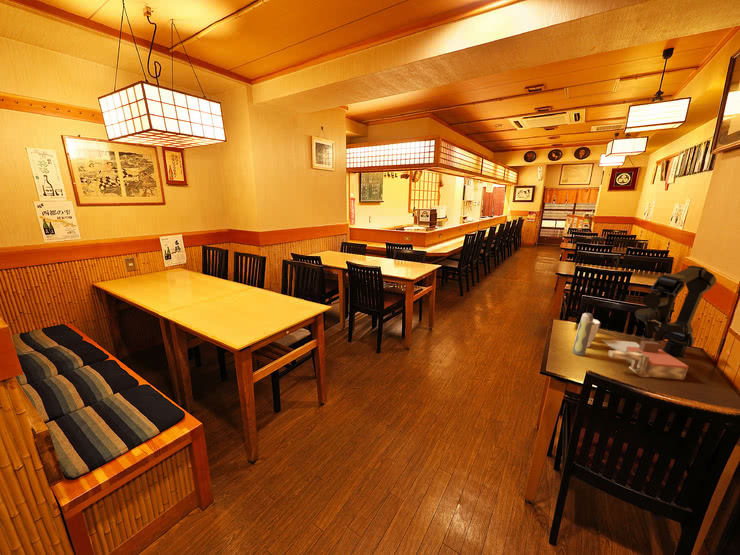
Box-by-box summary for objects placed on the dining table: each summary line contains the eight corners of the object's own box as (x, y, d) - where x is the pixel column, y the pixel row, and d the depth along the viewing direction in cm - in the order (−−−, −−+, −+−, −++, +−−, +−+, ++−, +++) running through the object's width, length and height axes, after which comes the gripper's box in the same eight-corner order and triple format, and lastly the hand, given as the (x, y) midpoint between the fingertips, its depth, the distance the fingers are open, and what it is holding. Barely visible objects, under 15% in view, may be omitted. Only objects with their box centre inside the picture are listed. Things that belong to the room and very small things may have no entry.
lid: (659, 351, 136) (663, 341, 135) (687, 368, 123) (691, 357, 121) (626, 348, 137) (629, 338, 136) (650, 365, 124) (654, 354, 123)
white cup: (598, 342, 154) (603, 324, 151) (583, 341, 154) (587, 323, 151) (588, 335, 161) (592, 317, 158) (573, 334, 161) (577, 316, 159)
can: (587, 342, 152) (593, 320, 149) (592, 348, 146) (598, 326, 143) (572, 340, 154) (578, 318, 151) (576, 346, 148) (582, 323, 145)
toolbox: (656, 361, 137) (662, 343, 135) (685, 380, 123) (692, 361, 121) (616, 357, 139) (621, 340, 137) (639, 376, 125) (646, 357, 123)
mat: (634, 342, 154) (635, 342, 154) (660, 359, 139) (660, 358, 139) (601, 340, 156) (601, 339, 156) (622, 356, 141) (623, 355, 140)
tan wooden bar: (640, 357, 127) (642, 352, 127) (645, 360, 125) (646, 355, 124) (607, 354, 128) (609, 350, 128) (611, 357, 126) (612, 353, 126)
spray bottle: (575, 349, 145) (585, 310, 139) (586, 354, 141) (597, 314, 135) (570, 352, 142) (579, 312, 137) (581, 357, 138) (592, 316, 133)
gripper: (627, 296, 138) (617, 327, 142) (660, 311, 120) (648, 347, 124) (653, 298, 137) (643, 329, 141) (691, 314, 119) (678, 349, 123)
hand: (652, 338), depth 132 cm, fingers open, 4 cm apart
